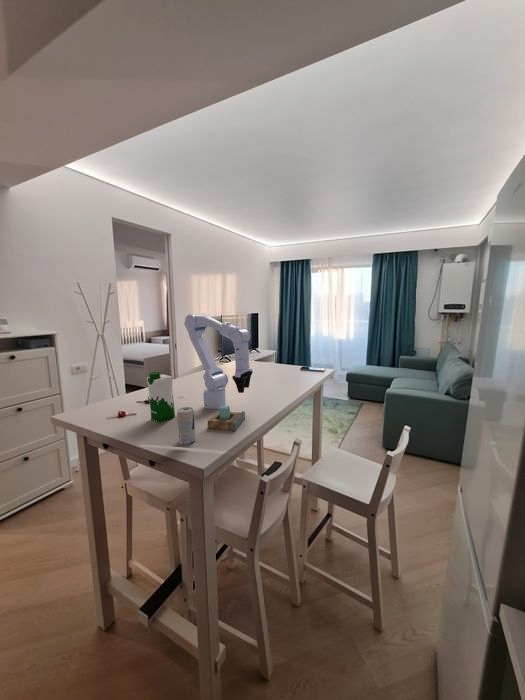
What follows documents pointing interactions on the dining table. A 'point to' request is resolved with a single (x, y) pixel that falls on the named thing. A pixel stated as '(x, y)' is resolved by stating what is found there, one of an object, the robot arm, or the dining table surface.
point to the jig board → (238, 421)
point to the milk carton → (161, 397)
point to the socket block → (222, 421)
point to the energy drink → (186, 425)
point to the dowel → (224, 412)
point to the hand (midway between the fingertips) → (243, 390)
